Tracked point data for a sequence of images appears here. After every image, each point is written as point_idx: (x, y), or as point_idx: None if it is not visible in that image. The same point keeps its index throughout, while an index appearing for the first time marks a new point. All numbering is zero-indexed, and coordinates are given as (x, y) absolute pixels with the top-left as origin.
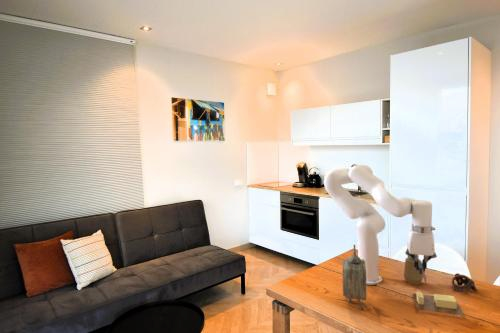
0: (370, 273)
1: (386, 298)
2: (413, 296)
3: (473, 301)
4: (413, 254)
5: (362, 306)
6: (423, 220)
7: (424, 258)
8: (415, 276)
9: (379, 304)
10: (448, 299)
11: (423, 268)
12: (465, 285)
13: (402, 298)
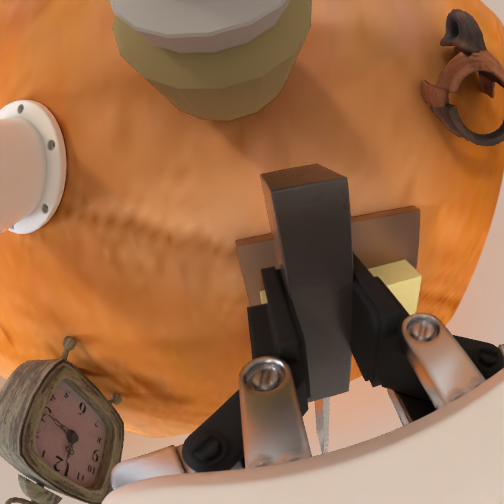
0: (4, 229)
1: (140, 315)
2: (244, 278)
3: (465, 175)
4: (243, 436)
5: (118, 403)
6: None
7: (411, 366)
8: (244, 112)
9: (140, 360)
10: None
11: (339, 392)
12: (489, 142)
13: (196, 287)
